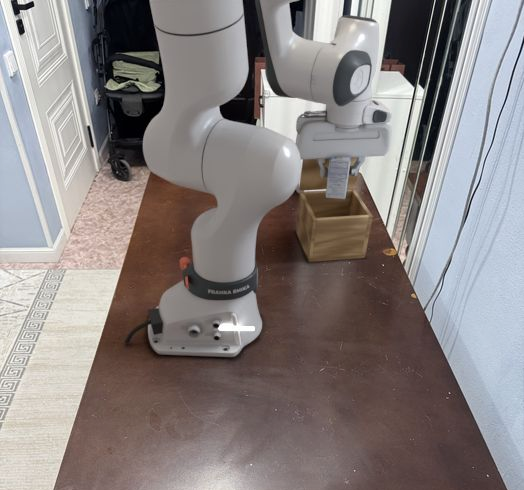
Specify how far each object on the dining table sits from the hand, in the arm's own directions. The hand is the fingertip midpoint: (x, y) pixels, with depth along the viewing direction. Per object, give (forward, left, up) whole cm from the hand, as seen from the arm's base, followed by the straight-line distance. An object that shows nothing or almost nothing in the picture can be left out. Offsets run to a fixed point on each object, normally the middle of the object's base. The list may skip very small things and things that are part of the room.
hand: (338, 175), depth 110 cm
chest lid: (0, +5, +1) cm, 6 cm away
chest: (0, 0, -18) cm, 18 cm away
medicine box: (0, 0, -4) cm, 4 cm away
